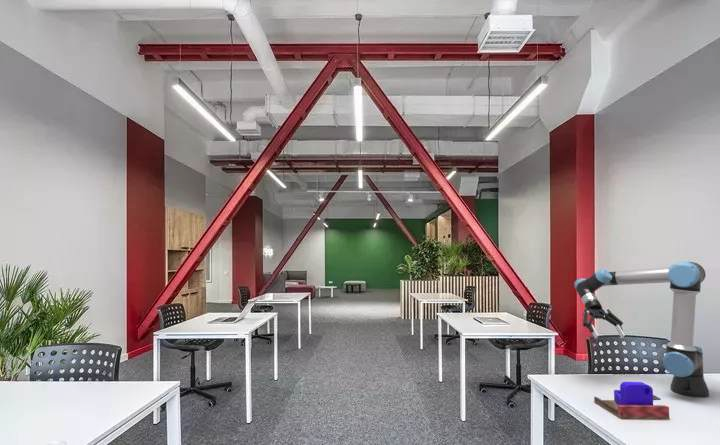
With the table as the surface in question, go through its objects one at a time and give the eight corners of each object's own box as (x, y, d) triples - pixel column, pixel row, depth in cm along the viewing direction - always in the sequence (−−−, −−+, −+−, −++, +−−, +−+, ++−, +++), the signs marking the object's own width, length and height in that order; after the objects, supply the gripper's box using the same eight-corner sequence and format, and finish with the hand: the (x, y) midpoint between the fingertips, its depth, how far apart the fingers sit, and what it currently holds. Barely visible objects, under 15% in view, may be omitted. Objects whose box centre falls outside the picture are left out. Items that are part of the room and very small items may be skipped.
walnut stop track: (637, 402, 196) (637, 391, 196) (669, 419, 176) (668, 407, 176) (594, 402, 196) (594, 391, 196) (620, 419, 176) (620, 406, 176)
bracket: (653, 414, 179) (652, 385, 180) (626, 413, 179) (625, 384, 180) (628, 399, 197) (628, 373, 198) (604, 399, 197) (603, 372, 198)
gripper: (611, 307, 235) (630, 341, 219) (566, 308, 234) (583, 341, 218) (617, 299, 230) (637, 332, 214) (571, 299, 229) (588, 332, 213)
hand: (610, 337), depth 216 cm, fingers open, 13 cm apart
